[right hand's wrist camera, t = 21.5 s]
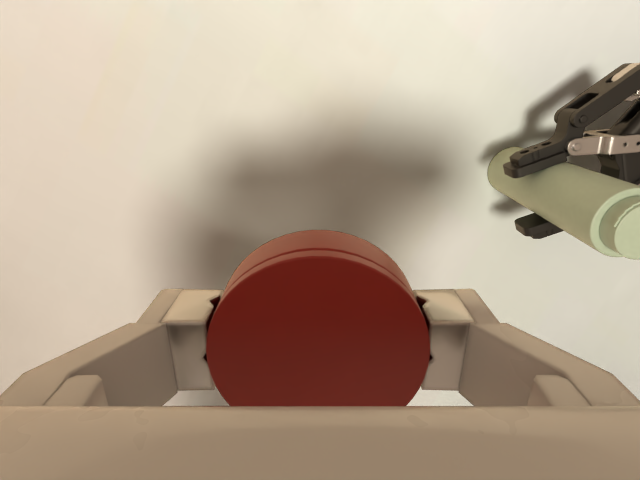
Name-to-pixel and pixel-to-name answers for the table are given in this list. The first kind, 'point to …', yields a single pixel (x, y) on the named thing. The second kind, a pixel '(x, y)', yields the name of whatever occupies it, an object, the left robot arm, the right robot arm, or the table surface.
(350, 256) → the lid
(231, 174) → the table surface
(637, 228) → the olive green cylinder
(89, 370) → the right robot arm
